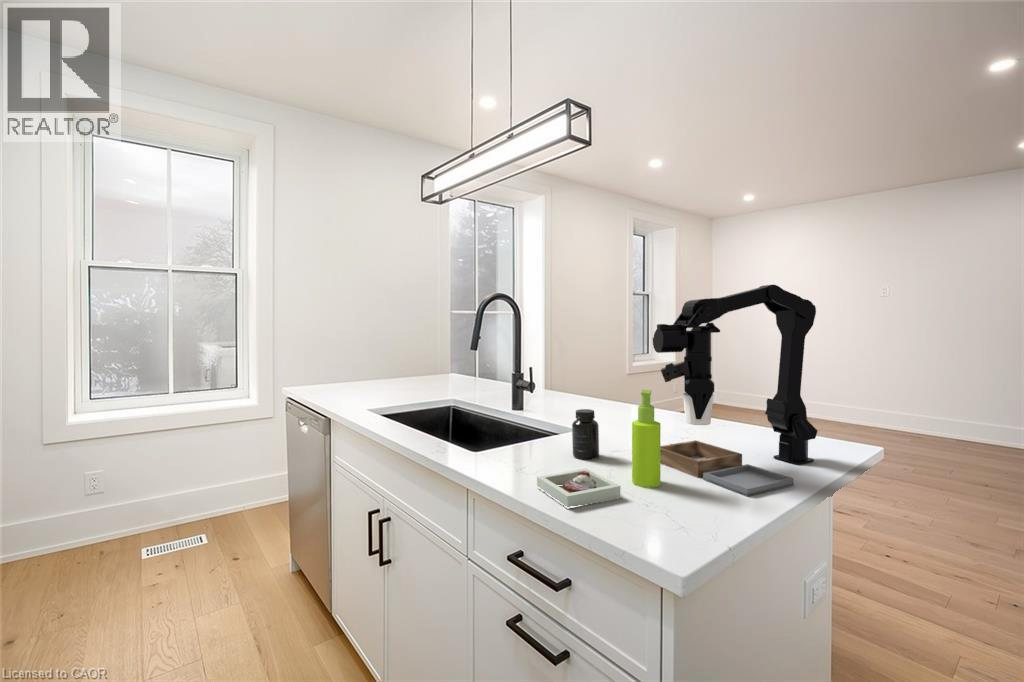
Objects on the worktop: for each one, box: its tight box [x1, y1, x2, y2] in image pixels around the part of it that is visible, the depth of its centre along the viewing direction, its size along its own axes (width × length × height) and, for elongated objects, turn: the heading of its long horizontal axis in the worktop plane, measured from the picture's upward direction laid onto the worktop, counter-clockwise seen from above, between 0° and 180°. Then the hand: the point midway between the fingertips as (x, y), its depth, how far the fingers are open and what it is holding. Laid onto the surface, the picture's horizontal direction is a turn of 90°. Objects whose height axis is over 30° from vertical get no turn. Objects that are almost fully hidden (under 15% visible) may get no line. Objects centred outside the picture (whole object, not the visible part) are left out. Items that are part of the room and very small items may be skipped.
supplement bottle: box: [571, 408, 600, 461], centre depth 120 cm, size 7×7×12 cm
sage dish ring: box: [536, 468, 621, 507], centre depth 94 cm, size 12×12×2 cm
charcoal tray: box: [702, 463, 795, 497], centre depth 99 cm, size 14×11×2 cm
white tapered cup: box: [682, 392, 714, 426], centre depth 111 cm, size 7×7×7 cm
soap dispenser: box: [631, 389, 661, 488], centre depth 100 cm, size 6×7×20 cm
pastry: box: [561, 471, 597, 493], centre depth 93 cm, size 8×8×5 cm
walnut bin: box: [660, 440, 743, 479], centre depth 112 cm, size 14×14×4 cm
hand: (698, 416), depth 111 cm, fingers closed on white tapered cup, 6 cm apart
